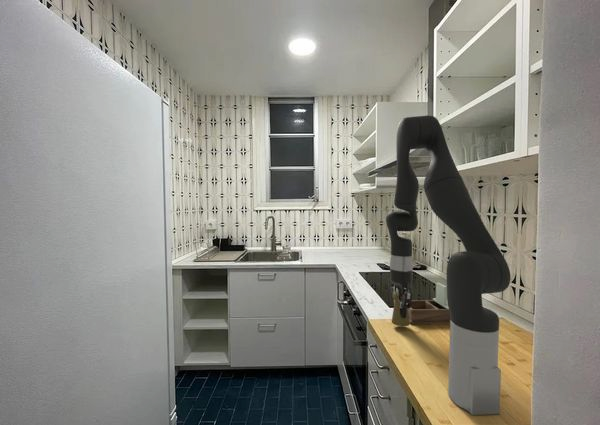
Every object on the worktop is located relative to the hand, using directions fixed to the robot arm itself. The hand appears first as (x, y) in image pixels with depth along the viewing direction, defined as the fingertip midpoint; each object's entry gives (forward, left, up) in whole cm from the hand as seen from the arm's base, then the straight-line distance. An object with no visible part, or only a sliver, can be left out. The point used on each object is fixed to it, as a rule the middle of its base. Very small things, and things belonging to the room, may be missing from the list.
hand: (400, 316), depth 101 cm
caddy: (+8, -17, -4) cm, 19 cm away
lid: (+8, -24, +1) cm, 25 cm away
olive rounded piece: (0, 0, -3) cm, 3 cm away
